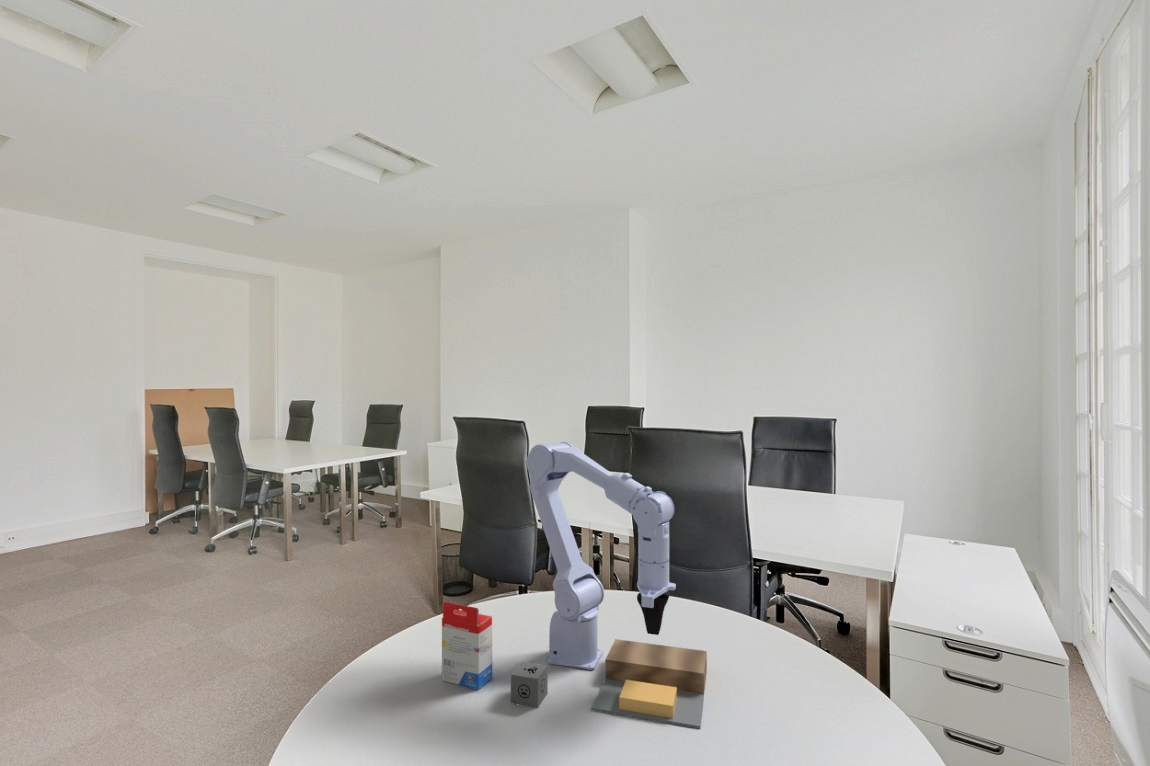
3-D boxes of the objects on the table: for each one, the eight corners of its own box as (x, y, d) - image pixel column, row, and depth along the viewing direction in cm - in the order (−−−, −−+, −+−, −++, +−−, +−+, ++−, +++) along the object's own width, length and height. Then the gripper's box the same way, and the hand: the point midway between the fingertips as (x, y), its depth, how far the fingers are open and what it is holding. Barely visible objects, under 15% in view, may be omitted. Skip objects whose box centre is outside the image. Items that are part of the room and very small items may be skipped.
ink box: (493, 678, 104) (493, 600, 104) (478, 691, 99) (478, 609, 100) (456, 669, 107) (457, 593, 108) (440, 680, 103) (440, 601, 103)
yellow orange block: (626, 679, 99) (626, 691, 99) (619, 697, 93) (619, 709, 93) (676, 687, 96) (676, 698, 96) (672, 705, 90) (672, 718, 90)
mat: (591, 710, 93) (591, 707, 93) (606, 678, 104) (606, 676, 104) (700, 728, 88) (700, 726, 88) (704, 693, 99) (704, 691, 99)
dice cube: (537, 708, 94) (537, 678, 94) (510, 703, 95) (510, 674, 95) (547, 693, 99) (547, 665, 99) (521, 689, 100) (521, 661, 100)
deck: (605, 681, 103) (605, 659, 103) (615, 659, 111) (615, 639, 112) (703, 696, 98) (703, 673, 98) (706, 672, 106) (706, 651, 106)
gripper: (670, 573, 94) (670, 653, 94) (679, 550, 108) (679, 620, 108) (629, 569, 96) (629, 647, 96) (644, 547, 110) (643, 615, 110)
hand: (653, 632), depth 102 cm, fingers closed
